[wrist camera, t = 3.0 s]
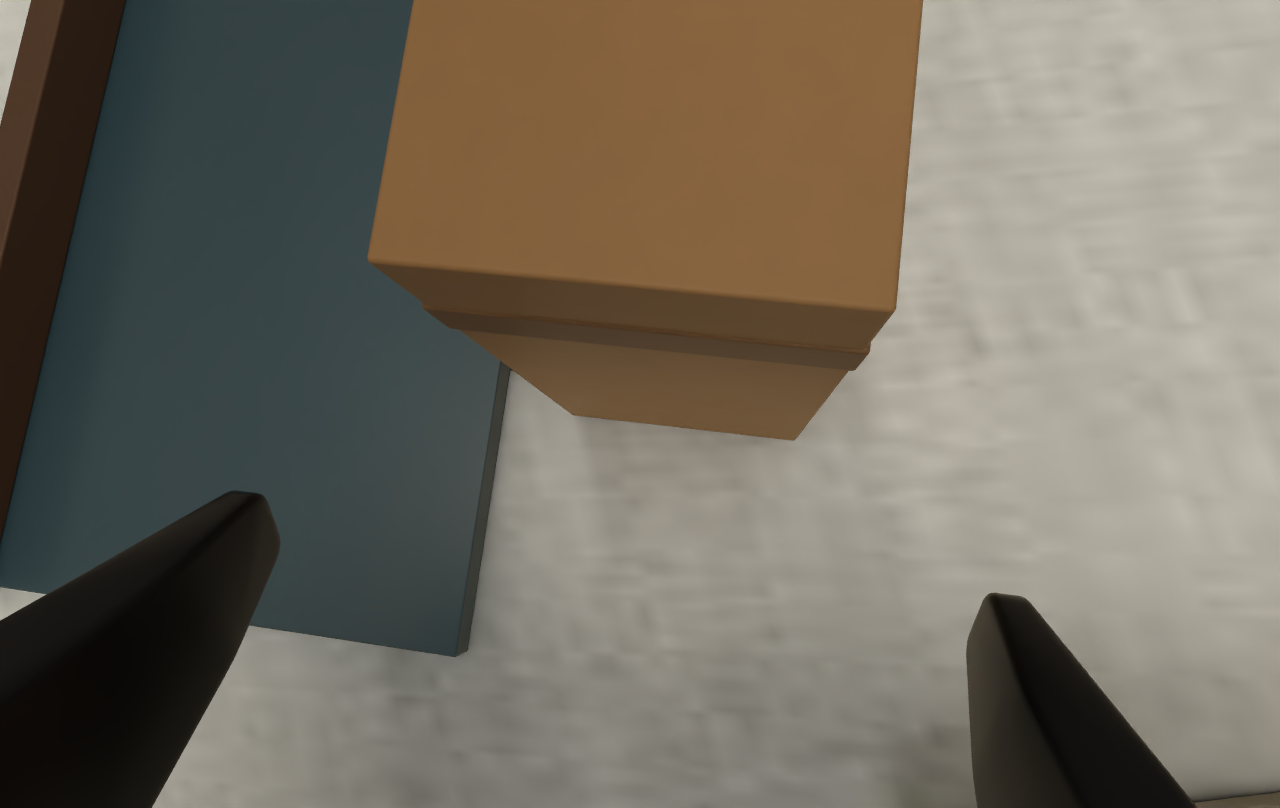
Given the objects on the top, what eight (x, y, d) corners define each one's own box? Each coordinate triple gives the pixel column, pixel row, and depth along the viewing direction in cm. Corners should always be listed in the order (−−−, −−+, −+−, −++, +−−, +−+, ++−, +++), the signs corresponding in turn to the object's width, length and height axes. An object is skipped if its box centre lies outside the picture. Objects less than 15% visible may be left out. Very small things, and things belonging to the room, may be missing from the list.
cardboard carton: (797, 443, 22) (901, 317, 9) (569, 416, 22) (358, 265, 10) (816, 256, 22) (938, -113, 9) (594, 236, 23) (430, -131, 10)
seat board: (467, 651, 22) (427, 670, 19) (-9, 578, 23) (-116, 586, 20) (572, -42, 24) (552, -121, 21) (139, -63, 26) (64, -139, 23)
